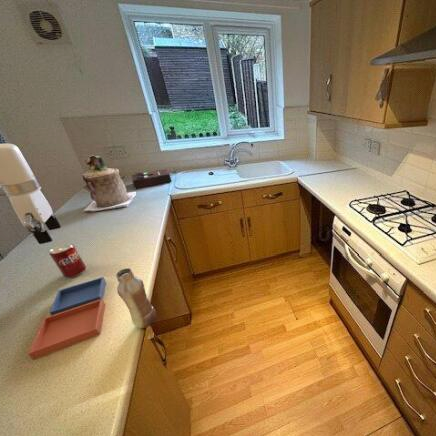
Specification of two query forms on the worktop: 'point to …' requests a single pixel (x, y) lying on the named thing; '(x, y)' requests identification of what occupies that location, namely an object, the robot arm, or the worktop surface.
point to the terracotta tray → (68, 328)
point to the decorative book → (151, 179)
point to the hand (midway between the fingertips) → (51, 235)
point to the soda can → (68, 260)
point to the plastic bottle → (135, 298)
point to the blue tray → (78, 295)
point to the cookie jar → (105, 186)
